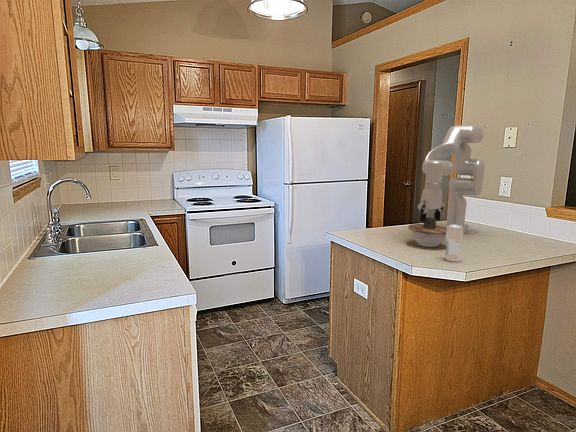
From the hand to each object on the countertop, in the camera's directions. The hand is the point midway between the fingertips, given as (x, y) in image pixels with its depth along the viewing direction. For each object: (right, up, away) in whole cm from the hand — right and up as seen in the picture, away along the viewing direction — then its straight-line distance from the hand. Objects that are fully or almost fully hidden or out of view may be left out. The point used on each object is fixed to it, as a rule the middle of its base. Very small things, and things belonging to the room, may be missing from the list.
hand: (429, 220), depth 191 cm
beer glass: (+1, -17, -22) cm, 28 cm away
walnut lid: (0, -4, +1) cm, 5 cm away
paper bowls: (0, -12, +2) cm, 13 cm away
